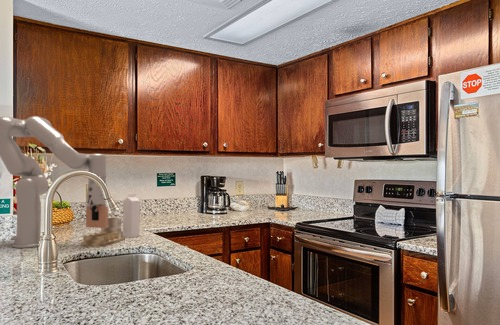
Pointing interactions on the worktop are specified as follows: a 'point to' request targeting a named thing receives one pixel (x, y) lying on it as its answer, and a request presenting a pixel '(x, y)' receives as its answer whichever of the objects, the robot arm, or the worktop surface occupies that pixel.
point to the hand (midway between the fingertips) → (96, 219)
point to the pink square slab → (102, 217)
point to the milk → (131, 216)
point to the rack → (106, 234)
